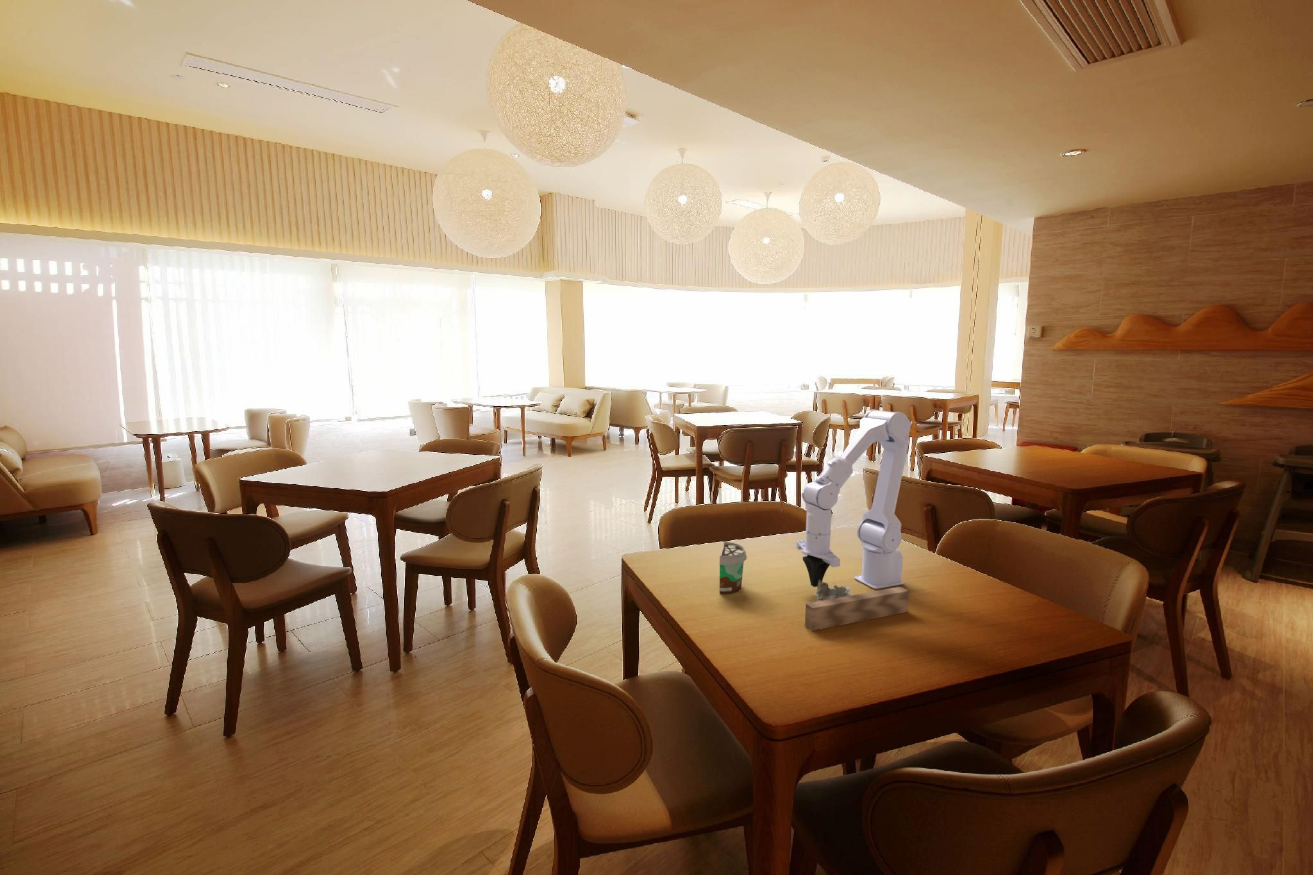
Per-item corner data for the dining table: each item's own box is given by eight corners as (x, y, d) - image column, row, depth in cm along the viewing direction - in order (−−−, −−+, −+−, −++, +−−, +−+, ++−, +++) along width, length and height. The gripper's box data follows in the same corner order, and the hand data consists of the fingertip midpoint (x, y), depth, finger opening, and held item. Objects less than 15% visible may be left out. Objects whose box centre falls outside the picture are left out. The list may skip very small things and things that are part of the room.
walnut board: (899, 607, 136) (900, 586, 135) (907, 611, 133) (909, 590, 133) (804, 625, 126) (805, 603, 126) (812, 630, 124) (812, 608, 123)
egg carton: (817, 594, 143) (818, 578, 143) (849, 598, 141) (850, 581, 140) (814, 611, 133) (815, 594, 133) (849, 616, 131) (850, 598, 130)
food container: (744, 598, 141) (745, 558, 139) (718, 596, 142) (719, 556, 140) (747, 579, 153) (748, 542, 151) (723, 577, 154) (724, 540, 152)
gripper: (786, 525, 147) (785, 577, 149) (823, 542, 134) (820, 599, 135) (810, 522, 149) (808, 574, 151) (848, 539, 136) (845, 595, 138)
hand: (816, 585), depth 144 cm, fingers closed
